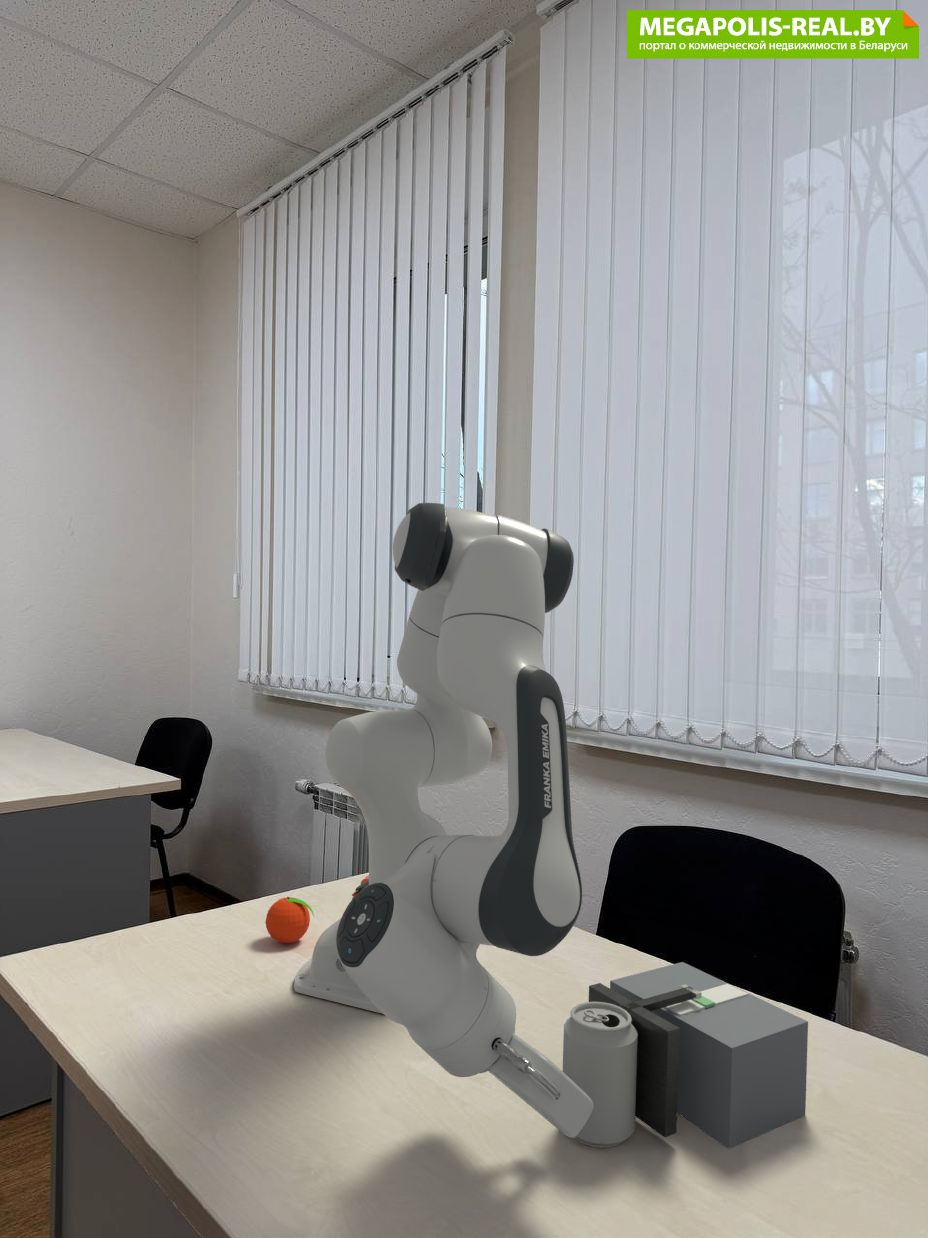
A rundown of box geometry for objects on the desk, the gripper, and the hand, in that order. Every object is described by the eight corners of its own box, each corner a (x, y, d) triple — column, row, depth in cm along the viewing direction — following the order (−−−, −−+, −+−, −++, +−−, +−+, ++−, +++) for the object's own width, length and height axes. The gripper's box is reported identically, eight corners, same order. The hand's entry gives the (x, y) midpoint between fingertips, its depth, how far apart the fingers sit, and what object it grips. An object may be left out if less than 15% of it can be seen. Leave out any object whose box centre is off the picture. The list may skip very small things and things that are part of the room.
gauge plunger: (664, 1138, 84) (668, 1031, 84) (586, 1080, 94) (589, 985, 94) (733, 1110, 89) (736, 1010, 89) (651, 1058, 99) (654, 969, 99)
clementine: (322, 937, 137) (323, 893, 137) (304, 953, 130) (305, 907, 130) (277, 932, 139) (278, 888, 139) (257, 947, 132) (258, 901, 132)
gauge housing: (729, 1148, 84) (732, 1044, 85) (607, 1065, 100) (610, 977, 100) (805, 1115, 91) (808, 1018, 91) (680, 1042, 106) (682, 958, 106)
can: (633, 1159, 82) (637, 1035, 82) (556, 1146, 84) (560, 1024, 84) (635, 1115, 90) (638, 1002, 90) (564, 1104, 91) (568, 993, 91)
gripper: (557, 1039, 71) (639, 1123, 76) (434, 954, 88) (508, 1028, 93) (511, 1107, 68) (600, 1189, 74) (395, 1007, 86) (473, 1079, 91)
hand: (547, 1098), depth 84 cm, fingers closed
